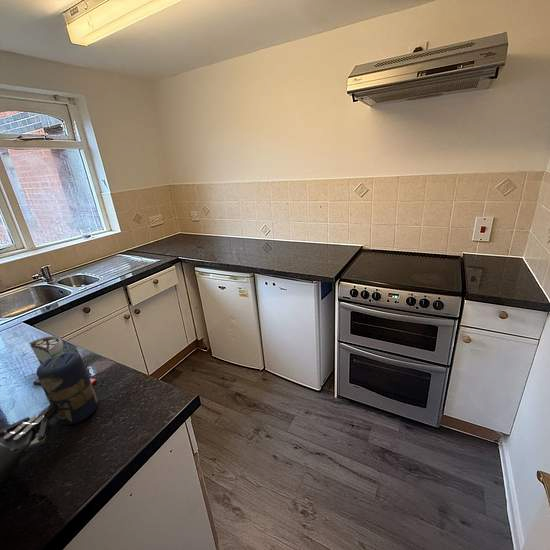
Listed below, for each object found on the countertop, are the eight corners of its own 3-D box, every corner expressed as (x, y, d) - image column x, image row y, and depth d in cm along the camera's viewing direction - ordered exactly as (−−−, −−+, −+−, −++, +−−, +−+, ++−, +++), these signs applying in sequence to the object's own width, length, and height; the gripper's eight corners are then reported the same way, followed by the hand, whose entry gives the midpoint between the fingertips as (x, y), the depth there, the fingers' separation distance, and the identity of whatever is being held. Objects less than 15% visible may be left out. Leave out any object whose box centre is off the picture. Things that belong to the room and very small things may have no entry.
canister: (50, 427, 76) (22, 370, 70) (76, 399, 85) (53, 347, 79) (84, 428, 75) (58, 370, 69) (107, 399, 84) (86, 346, 78)
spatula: (29, 388, 92) (27, 385, 91) (43, 377, 96) (42, 374, 96) (84, 392, 88) (83, 389, 87) (96, 380, 92) (95, 377, 92)
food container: (79, 364, 101) (69, 339, 98) (60, 376, 96) (48, 350, 93) (59, 356, 107) (48, 332, 103) (40, 367, 102) (28, 342, 98)
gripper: (-38, 485, 60) (39, 416, 76) (15, 493, 58) (83, 420, 73) (-56, 459, 58) (27, 393, 73) (-2, 466, 55) (73, 396, 71)
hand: (55, 406), depth 73 cm, fingers closed
